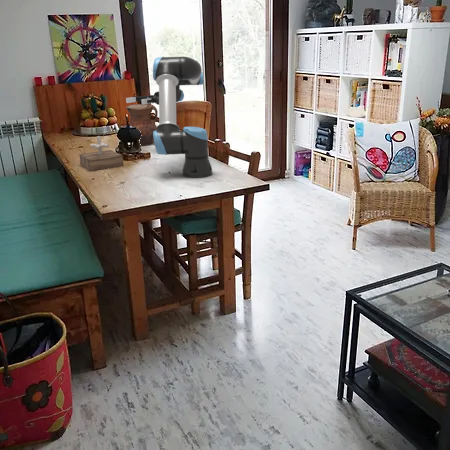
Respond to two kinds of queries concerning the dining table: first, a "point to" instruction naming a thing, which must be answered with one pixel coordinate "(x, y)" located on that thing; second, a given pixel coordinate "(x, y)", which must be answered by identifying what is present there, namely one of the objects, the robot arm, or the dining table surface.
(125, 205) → the dining table surface
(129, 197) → the dining table surface
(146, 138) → the jug
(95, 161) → the stand
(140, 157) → the dining table surface
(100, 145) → the pipe connector
